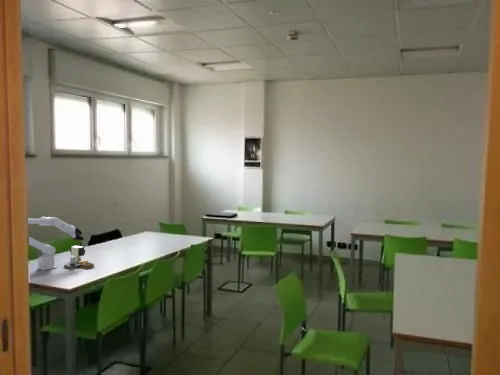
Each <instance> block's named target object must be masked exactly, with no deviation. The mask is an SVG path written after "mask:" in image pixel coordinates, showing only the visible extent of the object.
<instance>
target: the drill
mask: <svg viewBox="0 0 500 375" xmlns="http://www.w3.org/2000/svg"><path fill="white" fill-rule="evenodd" d="M75 257H76V256H71V257H70V263H69V264H70V265H71V266H72V265H75V263H76V262H75Z"/></svg>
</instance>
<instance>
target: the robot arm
mask: <svg viewBox="0 0 500 375" xmlns="http://www.w3.org/2000/svg"><path fill="white" fill-rule="evenodd" d="M28 224H29V225H30V224H35V225H36V224H38V225H39V226H40V227H45V226H46V227H47V226H48V227H50V226H51V227H52V226H53V227H55V228H57V229H59V230H61V231H62V232H64V233H66V234H68V236H71V238H72V240H78V241H83V240H84V239H85V238H84V236H82V234H83V231H82V230H81V229H79V228H78V226H77V225H76V224H75V225H73V224H69V223H67V222H65V221H63V220H61V219H60V218H59V217H55V216H48V217H46V216H45V215H44V216H43V215H42V216H41V217H39V218H29V217H28ZM28 224H27V225H28ZM28 245H30V246H31V247H33V248H36V249H38V250H40V251H41V252H42V255H41V256H39V257H38V259H37V262H38V267H37V269H39V270H42V271H48V270H53V269H57V266H55V254H56V252H57V251H56V249H57V248H56V247H54V246H53V245H50V244H47V243H43V242H41V241H39V240H38V239H37V240H36V239H35V238H34V237H31V236H29V244H28Z"/></svg>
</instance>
